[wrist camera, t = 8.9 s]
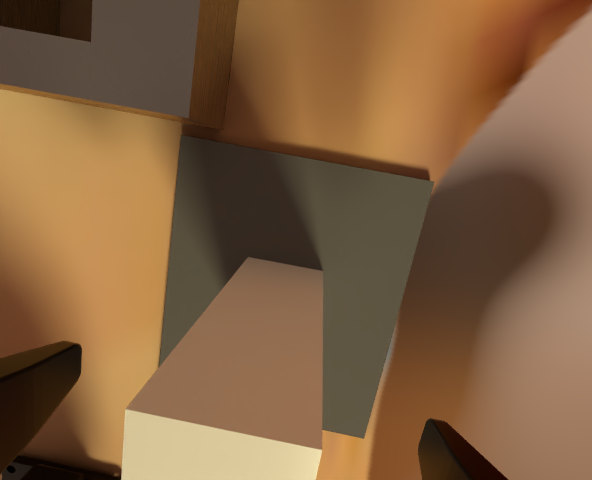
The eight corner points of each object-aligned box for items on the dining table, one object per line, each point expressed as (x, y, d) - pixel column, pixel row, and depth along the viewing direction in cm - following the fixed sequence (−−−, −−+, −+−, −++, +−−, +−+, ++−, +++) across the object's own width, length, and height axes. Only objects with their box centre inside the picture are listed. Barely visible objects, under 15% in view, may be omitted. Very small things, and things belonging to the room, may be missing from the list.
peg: (309, 339, 15) (289, 596, 6) (238, 325, 15) (116, 557, 6) (323, 270, 14) (322, 450, 5) (247, 256, 14) (125, 408, 5)
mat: (362, 431, 16) (363, 438, 16) (160, 388, 16) (156, 394, 16) (430, 181, 13) (434, 181, 13) (185, 135, 14) (181, 134, 13)
